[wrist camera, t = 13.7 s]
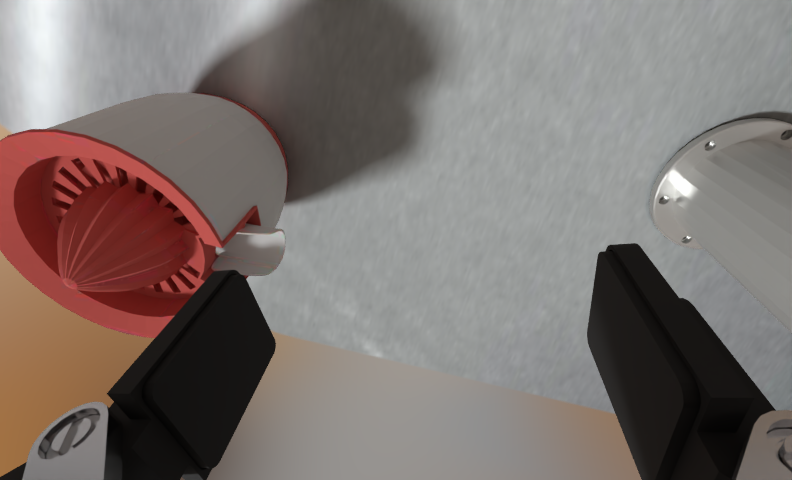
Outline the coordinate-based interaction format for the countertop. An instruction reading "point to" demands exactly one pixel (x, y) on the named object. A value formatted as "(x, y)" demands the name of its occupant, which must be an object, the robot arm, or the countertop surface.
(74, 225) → the citrus juicer
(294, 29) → the countertop surface
